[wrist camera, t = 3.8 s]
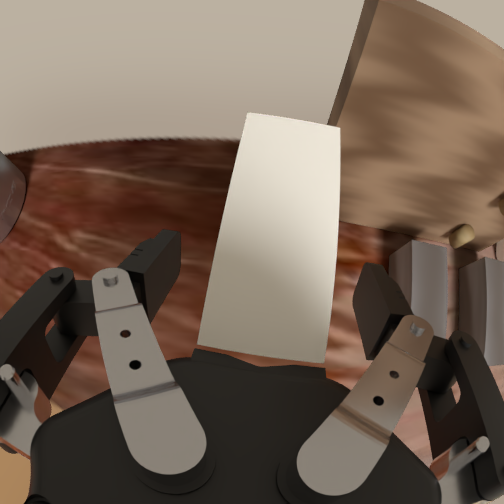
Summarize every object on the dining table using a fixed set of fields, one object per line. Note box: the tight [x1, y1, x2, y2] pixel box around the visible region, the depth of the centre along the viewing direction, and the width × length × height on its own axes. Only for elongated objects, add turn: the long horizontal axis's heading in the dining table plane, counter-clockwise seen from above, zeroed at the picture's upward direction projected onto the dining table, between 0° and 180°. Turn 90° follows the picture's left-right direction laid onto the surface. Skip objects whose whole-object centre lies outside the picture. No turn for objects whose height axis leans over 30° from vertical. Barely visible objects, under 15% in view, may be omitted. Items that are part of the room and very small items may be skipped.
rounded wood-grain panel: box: [327, 0, 504, 366], centre depth 11 cm, size 17×12×16 cm
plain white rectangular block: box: [197, 113, 340, 363], centre depth 13 cm, size 3×7×12 cm, turn 170°
